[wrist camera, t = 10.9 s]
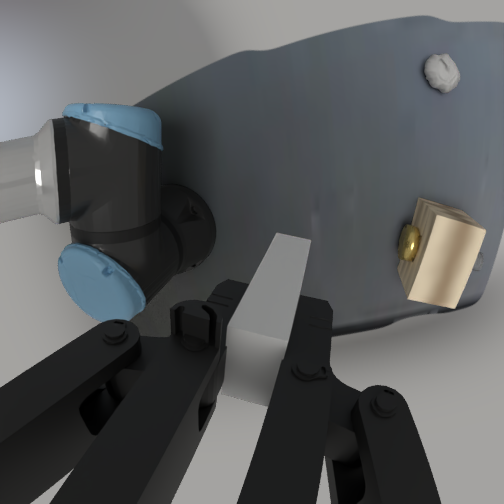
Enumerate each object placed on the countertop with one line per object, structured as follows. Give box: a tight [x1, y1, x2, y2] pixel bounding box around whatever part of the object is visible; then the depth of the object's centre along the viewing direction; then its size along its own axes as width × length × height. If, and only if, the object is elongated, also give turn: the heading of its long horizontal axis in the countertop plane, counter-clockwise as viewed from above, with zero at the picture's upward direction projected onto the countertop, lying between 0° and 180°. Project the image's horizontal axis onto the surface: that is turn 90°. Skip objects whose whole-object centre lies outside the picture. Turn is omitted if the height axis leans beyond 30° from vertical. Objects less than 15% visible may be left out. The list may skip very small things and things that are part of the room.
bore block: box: [397, 198, 486, 309], centre depth 38 cm, size 8×12×9 cm, turn 172°
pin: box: [398, 224, 483, 271], centre depth 38 cm, size 14×5×5 cm, turn 83°
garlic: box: [424, 54, 460, 93], centre depth 29 cm, size 6×5×5 cm
